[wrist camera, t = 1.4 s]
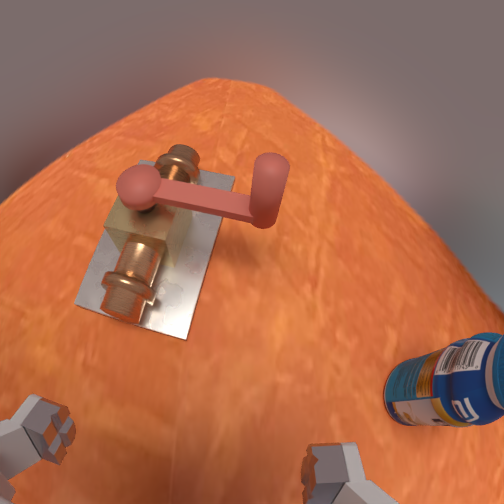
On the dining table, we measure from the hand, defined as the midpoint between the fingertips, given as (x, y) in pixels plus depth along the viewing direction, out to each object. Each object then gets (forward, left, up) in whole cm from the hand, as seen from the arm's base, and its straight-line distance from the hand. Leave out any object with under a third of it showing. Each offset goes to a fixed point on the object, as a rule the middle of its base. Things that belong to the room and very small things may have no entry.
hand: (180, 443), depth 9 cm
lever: (-3, +19, -14) cm, 24 cm away
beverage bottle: (+23, +2, -24) cm, 33 cm away
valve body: (-8, +20, -23) cm, 32 cm away
